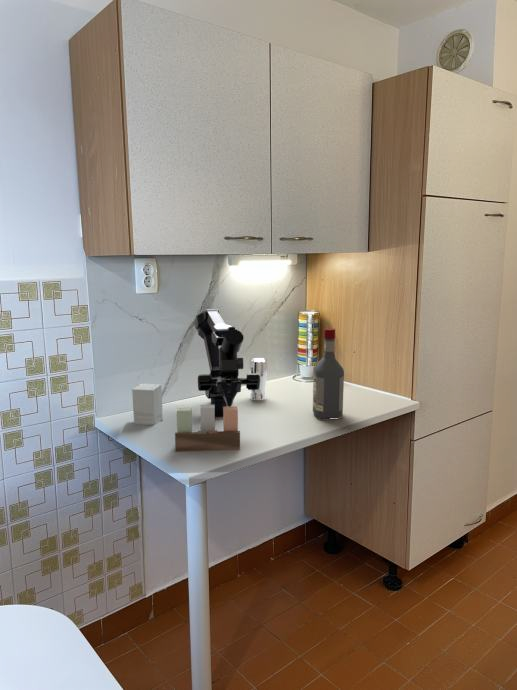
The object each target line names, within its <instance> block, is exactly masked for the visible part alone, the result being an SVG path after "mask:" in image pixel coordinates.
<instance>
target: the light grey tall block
mask: <svg viewBox="0 0 517 690" xmlns="http://www.w3.org/2000/svg"><path fill="white" fill-rule="evenodd" d="M199 412H200V431H205V430H207V432H209V430H216V428H215V427H216V426H215V425H216V424H215V422H216V419H215V417H216V416H215V405H211V404H200V410H199Z"/></svg>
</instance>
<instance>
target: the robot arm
mask: <svg viewBox="0 0 517 690" xmlns="http://www.w3.org/2000/svg"><path fill="white" fill-rule="evenodd" d="M194 328H195V330H196V331H197V334H198V336H199V337H200V338H201V339H203V341H204V342H203V343H204V347H205V352H206V356H207V362H208V367H209V371H210V372H209V373H208V374H201V373H200V374H199V375H198V376H197V390H198V391H200V392H201V391H202V392H204V391H205V393H204V394H205V397H206V398H207V399H208V400H210V405H215V417H223V407H231V406H233V403H234V400H235V398H236V396H237V394H238V393H241V392H242V386H244V385H245V387H246V389H247V390H248V391H251V390H258V389H259V385H260V375H259V374H249V373H246V377H241V378H240V377H239V374H240V372H239V370H243V369H244V358H243V357H238V353H239V352H240V349H241V346H242V344H243V342H244V334H243V333H242V332H241V331H240V330H239V329H236V326H232V325H230V324H226V323H225V321H224V319H223V318H222V316H221V315H220V310H219V309H217V308H210V309H209V308H207V309H204V310H203V311H202V312H201V313H199V314H197V315H196V317H195V319H194ZM229 397H230V401H229Z"/></svg>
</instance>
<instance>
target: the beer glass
mask: <svg viewBox="0 0 517 690" xmlns="http://www.w3.org/2000/svg"><path fill="white" fill-rule="evenodd" d="M248 374H259V375H260V385H259V389H258V390H250V391H251V392H250V397H249V399H250V400H251V401H253V402H254V401H256V402H262V401H266V399H267V396H266V385H267V379H268V360H267V359H266V358H263V357H254V358H250V359H249V363H248Z"/></svg>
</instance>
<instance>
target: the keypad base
mask: <svg viewBox="0 0 517 690" xmlns="http://www.w3.org/2000/svg"><path fill="white" fill-rule="evenodd" d="M174 442H175V444H174V449H175V452H202V451H203V452H204V451H205V452H206V451H232V450H233V451H235V450H236V451H237V450H238V451H239V450H241V431H240V430H238V431H224V430H222V431H221V430H220V431H218V430H217V429H215V430H209V432H207V430H205V431H201V430H197V431H192V432H177V431H176V432H174Z"/></svg>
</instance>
